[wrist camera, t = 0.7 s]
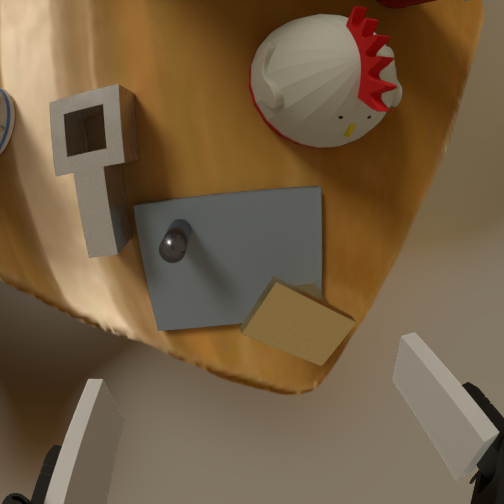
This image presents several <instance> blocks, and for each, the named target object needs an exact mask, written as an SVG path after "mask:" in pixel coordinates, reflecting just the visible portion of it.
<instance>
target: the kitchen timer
mask: <svg viewBox="0 0 504 504" xmlns="http://www.w3.org/2000/svg"><path fill="white" fill-rule="evenodd" d="M366 11H367V8H365V7H357V6H355V7H354V8H353V10H352V12H351V14H350V16H349V18H347V17H344V16H341V15H330V14H317V15H312V16H308V17H303V18H299V19H295V20H292V21H289V22H287V23H286V24H284V25H282V26H281V27H279V28H277V29H276V30H274V31H273V32H271V33H270V34H269V35H268V37H267V38H266V39H265V40H264V41H263V43H262V44H261V45H260V46H259V47H258V49H257V51H256V53H255V56H254V59H253V61H252V64H251V67H250V75H249V89H250V92H251V96H252V99H253V103H254V106H255V107H256V109H257V110H258V112H259V114H260V115H261V117H262V118H263V120H264V122H265V123H267V124H268V125H269V126H270V127H271V128H272V129H273V130H274V131H275V132H276V133H277V134H279V135H280V136H282V137H284V138H286V139H288V140H290V141H292V142H294V143H296V144H300V145H305V146H309V147H314V148H324V147H338V146H341V145H344V144H347V143H349V142H352V141H355V140H357V139H359V138H361V137H362V136H363V135H365V134H366V133H367V132H368V131H370V130H371V129H372V128H373V127H375V126H376V125H377V124H378V123H379V122H380V121H381V120H382V118H383V117H384V115H385V114H386V112H390V109H389V108H390V106H393V107H396V106H398V104H399V103H400V101H401V98H402V87H401V85H400V83H399V82H398V80H397V76H396V68H395V59H394V53H393V50H392V49H391V48H390V47H387V46H386V43H387V42H388V41H389V40H390V38H391V37H390V36H384V35H377V34H376V33H375V32H374V31H375V29H376V27H377V24H378V20H376V19H369V18H364V17H365V14H366Z"/></svg>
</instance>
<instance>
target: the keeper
mask: <svg viewBox="0 0 504 504" xmlns="http://www.w3.org/2000/svg"><path fill="white" fill-rule="evenodd" d="M355 323H356V321H355V320H354V319H353V317H352V316H351V315H349V314H347V313H345V312H343V311H341V310H339V309H337V308H335V307H333V306H332V305H330V304H329V303H328V302H327V300H326V299H325V298H324V296H323V295H322V293H321V292H320V290H319V289H318V287H317V286H316V284H315V283H309V284H301V285H294V286H293V285H291V284H289V283H287V282H285V281H283V280H281V279H279V278H277V277H275V276H273V277H272V279H271V281H270V282H269V284H268V285H267V287H266V288H265V290H264V291H263V293H262V294H261V296H260V297H259V299H258V300H257V302H256V303H255V305H254V306H253V308H252V309H251V311H250V312H249V314H248V315H247V317H246V318H245V320H244V321H243V323H242V324H241V333H242V334H243V335H245V336H248V337H250V338H253V339H255V340H257V341H260V342H262V343H264V344H267V345H269V346H272V347H274V348H277V349H279V350H282V351H284V352H287V353H289V354H292V355H294V356H297V357H299V358H302V359H304V360H307V361H310V362H312V363H315V364H317V365H320V366H322V365H323V364H324V363H325V362H326V360H327V359H328V358H329V357H330V355H331V354H332V353H333V352H334V350H335V349H336V348H337V347H338V345H339V344H340V343H341V342H342V340H343V339H344V338H345V336H346V335H347V334H348V333H349V331H350V330H351V329H352V327H353V326H354V325H355Z"/></svg>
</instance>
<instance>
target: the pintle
mask: <svg viewBox="0 0 504 504" xmlns="http://www.w3.org/2000/svg"><path fill="white" fill-rule="evenodd" d="M190 234H191V226H190V224H189V223H188V222H187V221H186V220H183V219H177V220H175V221H173V222H172V223H171V225H170V227H169V229H168V230H167V232H166V234H165V236H164V238H163V240H162V242H161V243H160V246H159V254H160V256H161V257H162V259H163V260H165V261H166V262H169V263H176V262H179V261H181V260H182V259H183V257H184V255H185V252H186V248H187V245H188V241H189V237H190Z"/></svg>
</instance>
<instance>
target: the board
mask: <svg viewBox="0 0 504 504" xmlns="http://www.w3.org/2000/svg"><path fill="white" fill-rule="evenodd" d="M133 209H134V215H135V222H136V228H137V234H138V239H139V245H140V250H141V256H142V261H143V266H144V271H145V276H146V281H147V285H148V290H149V294H150V299H151V303H152V307H153V312H154V316H155V320H156V324H157V328H158V331H162V330H175V329H188V328H199V327H210V326H220V325H230V324H239V323H243V321H244V320H245V318H246V317H247V315H248V314H249V312H250V311H251V309H252V308H253V306H254V305H255V303H256V302H257V300H258V299H259V297H260V296H261V294H262V293H263V291H264V290H265V288H266V287H267V285H268V284H269V282H270V281H271V279H272V277H273V276H275V277H277V278H279V279H281V280H283V281H285V282H287V283H289V284H291V285H293V286H294V285H301V284H309V283H315V284H316V286H317V287H318V289H319V290H320V292H321V293H322V199H321V187H319V186H308V187H292V188H279V189H266V190H254V191H242V192H232V193H221V194H212V195H202V196H193V197H185V198H176V199H168V200H160V201H153V202H145V203H138V204H135V205H134V206H133ZM177 219H183V220H186V221H187V222H188V223H189V224H190V226H191V234H190V237H189V241H188V245H187V248H186V252H185V255H184V257H183V259H182V260H181V261H179V262H176V263H169V262H166V261H165V260H163V259H162V257H161V256H160V254H159V246H160V243H161V242H162V240H163V238H164V236H165V234H166V232H167V230H168V229H169V227H170V225H171V223H172V222H173V221H175V220H177Z"/></svg>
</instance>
